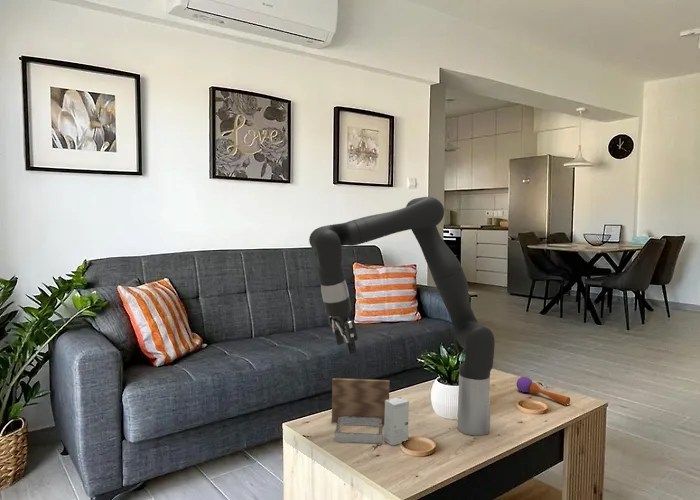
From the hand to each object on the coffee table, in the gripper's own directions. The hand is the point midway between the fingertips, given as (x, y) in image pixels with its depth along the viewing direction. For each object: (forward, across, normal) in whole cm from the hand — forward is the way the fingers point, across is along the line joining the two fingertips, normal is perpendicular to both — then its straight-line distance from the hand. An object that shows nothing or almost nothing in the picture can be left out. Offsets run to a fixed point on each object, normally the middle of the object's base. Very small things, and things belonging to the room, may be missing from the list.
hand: (346, 348), depth 145 cm
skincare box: (+29, -9, -6) cm, 31 cm away
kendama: (+47, 0, -71) cm, 85 cm away
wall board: (+29, +8, -3) cm, 30 cm away
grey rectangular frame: (+28, 0, +2) cm, 28 cm away
